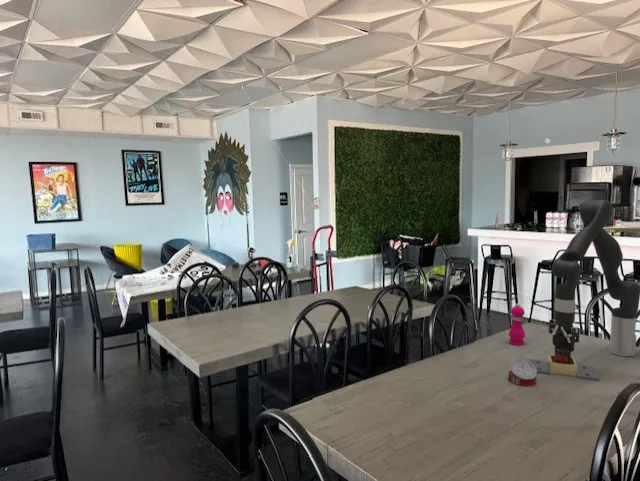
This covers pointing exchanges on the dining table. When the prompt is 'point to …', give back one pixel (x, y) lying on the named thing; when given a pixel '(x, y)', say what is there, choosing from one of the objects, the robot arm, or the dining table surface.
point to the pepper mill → (517, 326)
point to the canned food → (522, 372)
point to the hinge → (565, 368)
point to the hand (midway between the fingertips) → (562, 348)
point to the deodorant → (561, 349)
